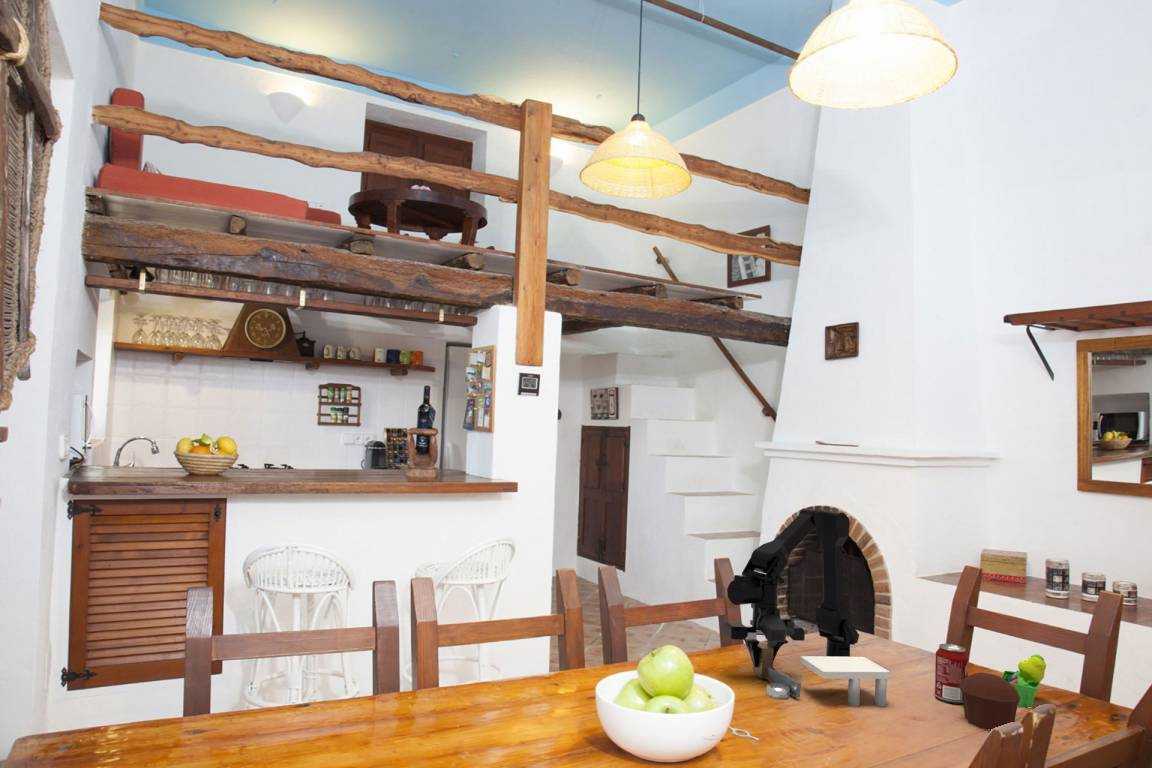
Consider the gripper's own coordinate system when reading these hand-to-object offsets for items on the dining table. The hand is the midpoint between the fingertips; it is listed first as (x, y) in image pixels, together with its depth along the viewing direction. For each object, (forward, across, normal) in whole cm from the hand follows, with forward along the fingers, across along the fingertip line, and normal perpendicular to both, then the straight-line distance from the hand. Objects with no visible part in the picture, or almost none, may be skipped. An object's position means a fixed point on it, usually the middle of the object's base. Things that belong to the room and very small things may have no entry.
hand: (762, 667), depth 185 cm
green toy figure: (+2, +58, -16) cm, 60 cm away
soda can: (+2, +40, -15) cm, 43 cm away
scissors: (+3, -22, -27) cm, 35 cm away
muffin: (+3, +39, -29) cm, 48 cm away
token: (+2, -1, -12) cm, 12 cm away
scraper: (+2, +1, -7) cm, 7 cm away
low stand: (+2, +14, -13) cm, 19 cm away
